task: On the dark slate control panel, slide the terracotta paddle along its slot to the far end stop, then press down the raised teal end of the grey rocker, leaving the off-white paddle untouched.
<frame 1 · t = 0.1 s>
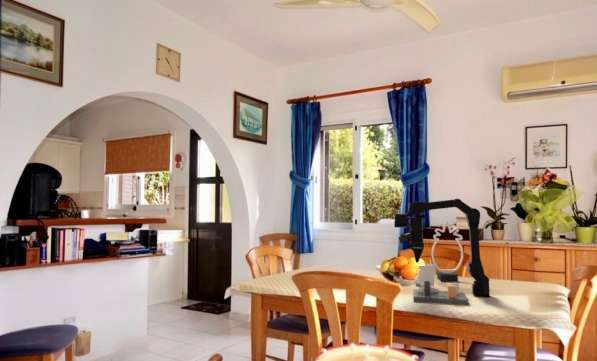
hand: (416, 261, 205), 15 cm above the table, fingers open, 9 cm apart
paddle a: (452, 291, 185), point 4 cm above the table, slide at 0.0 cm
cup: (426, 290, 210), on the table
panel: (439, 299, 190), on the table
paddle b: (455, 287, 193), point 5 cm above the table, slide at 0.0 cm
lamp: (447, 280, 235), on the table
rocker: (427, 286, 196), point 4 cm above the table, hinge at -13.0°
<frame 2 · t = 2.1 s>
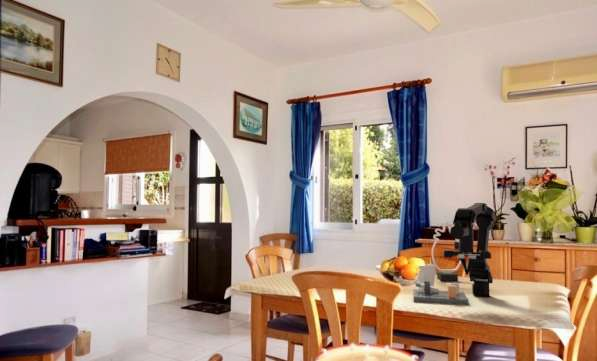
hand: (466, 274, 184), 12 cm above the table, fingers closed
nothing on the table moved.
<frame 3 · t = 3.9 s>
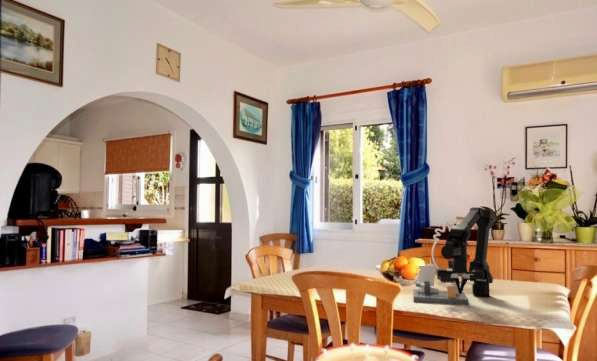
hand: (460, 293, 184), 4 cm above the table, fingers closed
paddle a: (451, 291, 185), point 5 cm above the table, slide at 0.4 cm, touching gripper
everything else where it was.
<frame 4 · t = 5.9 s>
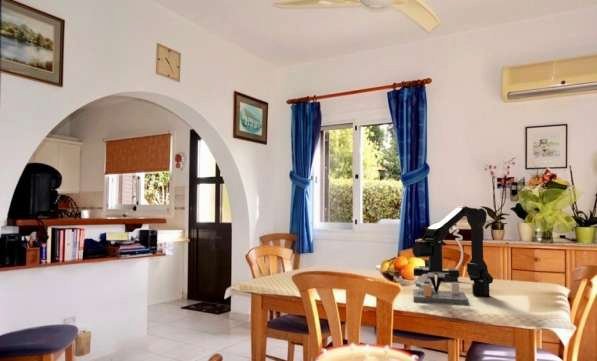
hand: (436, 292, 187), 4 cm above the table, fingers closed
paddle a: (427, 289, 188), point 4 cm above the table, slide at 10.1 cm, touching gripper
everything else where it was.
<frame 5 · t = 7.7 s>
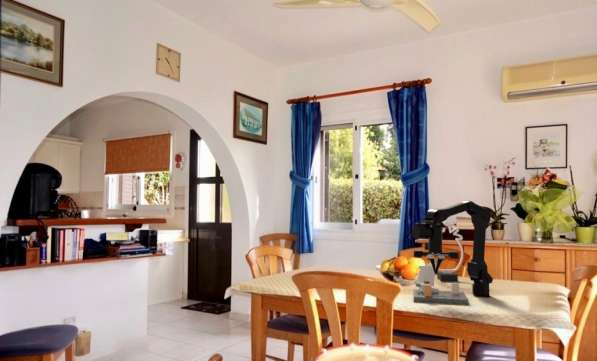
hand: (435, 274, 189), 11 cm above the table, fingers closed
paddle a: (427, 289, 188), point 4 cm above the table, slide at 10.0 cm
everything else where it was.
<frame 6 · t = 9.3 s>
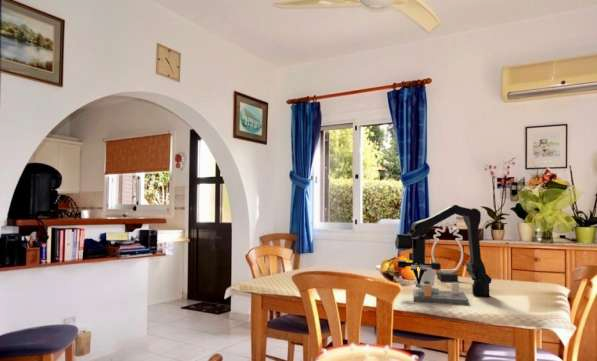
hand: (418, 284, 196), 5 cm above the table, fingers closed, pressing on rocker
rocker: (427, 286, 196), point 4 cm above the table, hinge at -10.1°, touching gripper
everything else where it was.
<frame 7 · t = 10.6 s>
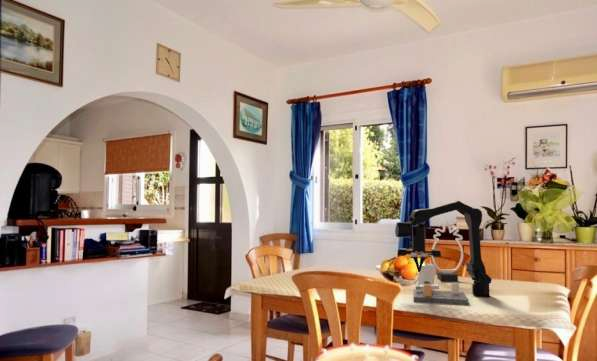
hand: (419, 271, 197), 11 cm above the table, fingers closed
rocker: (427, 286, 196), point 4 cm above the table, hinge at 5.0°
everything else where it was.
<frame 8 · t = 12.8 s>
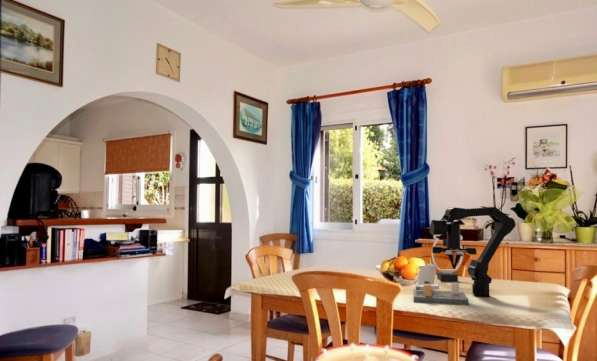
hand: (454, 269, 197), 12 cm above the table, fingers closed
rocker: (427, 286, 196), point 4 cm above the table, hinge at 5.6°
everything else where it was.
at the end: paddle a slide at 10.0 cm; rocker at +6° (first picture: -13°); paddle b moved 0.0 cm from its start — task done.
